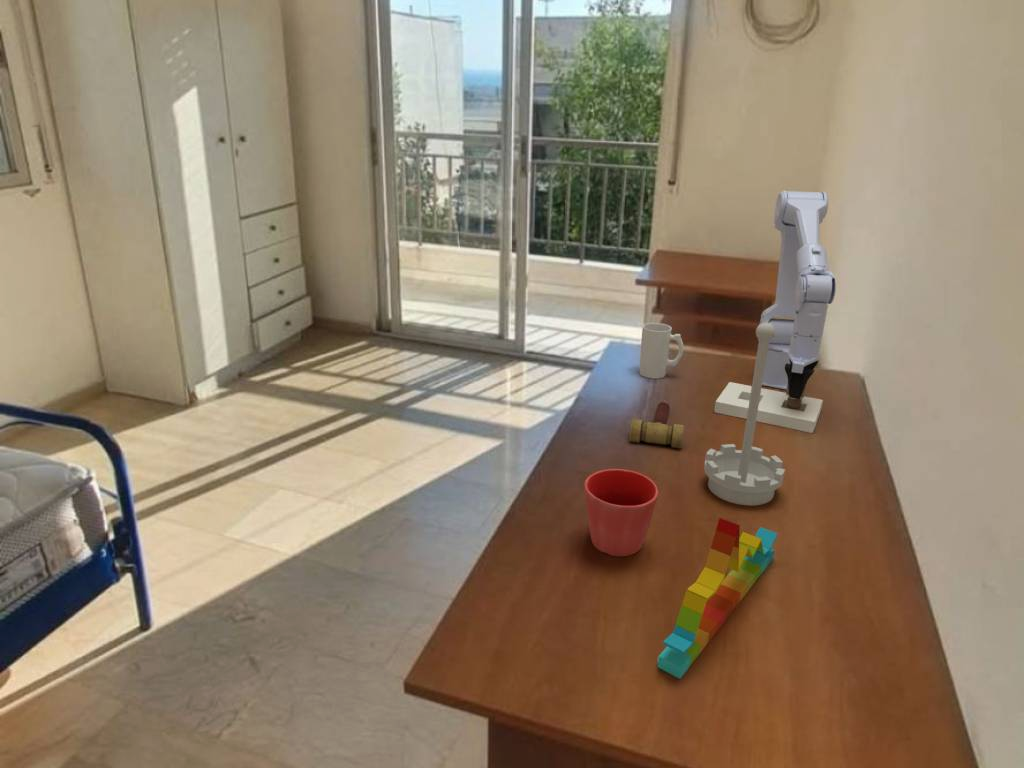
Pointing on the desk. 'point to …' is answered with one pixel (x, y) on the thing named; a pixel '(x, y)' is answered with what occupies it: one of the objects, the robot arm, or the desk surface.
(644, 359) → the mug
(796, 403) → the peg
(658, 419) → the gavel
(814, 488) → the desk surface
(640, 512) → the flower pot
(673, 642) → the chart
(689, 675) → the desk surface
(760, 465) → the flag stand
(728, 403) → the board
